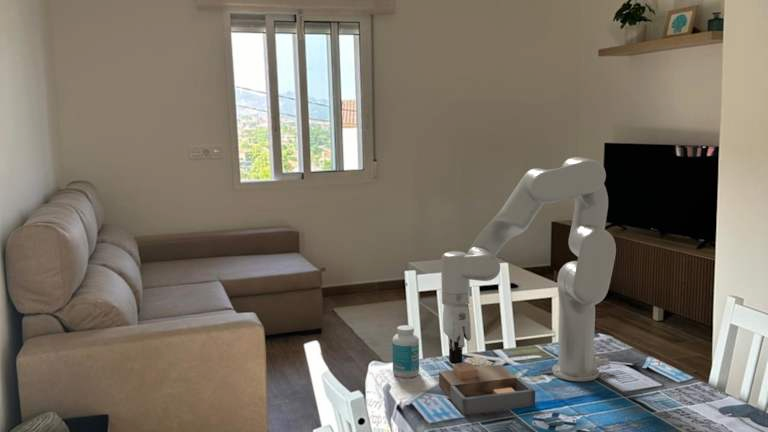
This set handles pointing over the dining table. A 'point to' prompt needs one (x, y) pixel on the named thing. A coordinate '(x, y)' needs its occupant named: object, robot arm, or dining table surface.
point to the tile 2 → (502, 390)
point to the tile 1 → (465, 370)
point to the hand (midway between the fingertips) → (455, 362)
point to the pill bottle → (405, 352)
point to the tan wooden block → (478, 381)
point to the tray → (494, 400)
